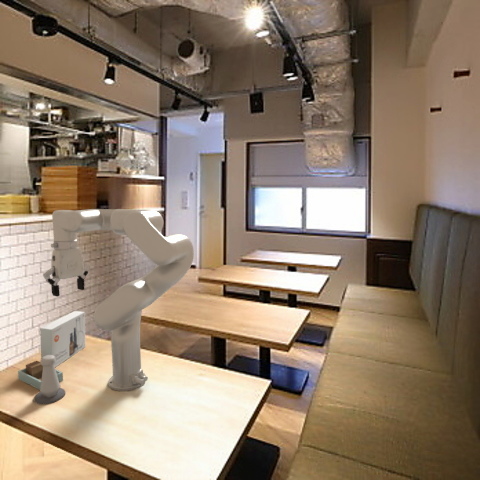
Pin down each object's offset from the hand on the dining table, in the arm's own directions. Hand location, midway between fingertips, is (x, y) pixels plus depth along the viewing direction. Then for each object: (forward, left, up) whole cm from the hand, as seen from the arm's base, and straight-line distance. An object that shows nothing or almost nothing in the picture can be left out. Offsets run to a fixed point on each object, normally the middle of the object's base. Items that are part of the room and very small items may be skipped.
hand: (68, 292), depth 135 cm
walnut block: (+8, +10, -30) cm, 33 cm away
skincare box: (+14, -6, -31) cm, 34 cm away
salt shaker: (-8, +14, -30) cm, 34 cm away
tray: (+5, +10, -30) cm, 32 cm away
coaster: (-8, +14, -30) cm, 34 cm away
